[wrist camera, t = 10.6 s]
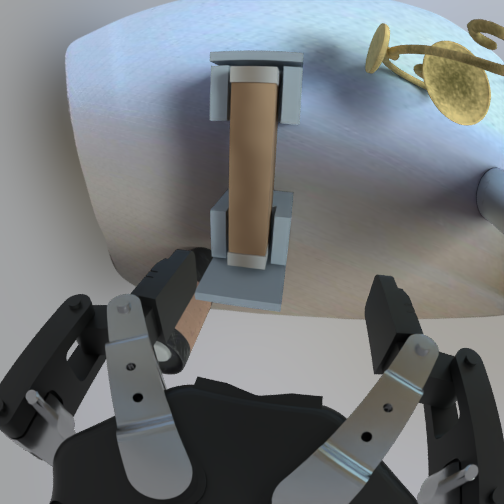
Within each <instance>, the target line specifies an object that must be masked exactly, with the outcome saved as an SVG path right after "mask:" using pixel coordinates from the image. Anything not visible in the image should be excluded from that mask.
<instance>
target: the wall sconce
mask: <svg viewBox="0 0 504 504" xmlns="http://www.w3.org/2000/svg"><path fill="white" fill-rule="evenodd" d="M467 28H468V31H469V35H470V36H471V37H472V38H473V39H474V41H475V42H477V43H478V44H480V45H481V46H483V47H485V48H487V49H491V50H495V49H497V44H496V43H495V42H494V41H492V40H491V39H489V38H487V37H485V36H484V35H482V34H481V33H480V32H483V33H488V34H491V35H494V36H496V37H498V38H500V39H502V40H504V27H502V26H500V25H498V24H496V23H493V22H490V21H486V20H482V19H476V20H472V21H470V22H469V23H468V24H467ZM389 39H390V30H389V27H388V26H387V25H386V24H384V23H382V24H381V25H380V26H379V27H378V28H377V30H376V32H375V34H374V36H373V39H372V41H371V44H370V47H369V50H368V54H367V58H366V65H365V70H366V72H367V73H374V72H375V71H376V70H377V69H378V68H379V66H380V65H381V63H382V62H383V63H384V65H385V66H386V67H388V68H389V69H390V70H391V71H393V72H394V73H396V74H397V75H399V76H401V77H402V78H404V79H406V80H408V81H410V82H411V83H413V84H415V85H417V86H419V87H421V88H423V89H425V90H427V92H428V94H429V96H430V98H431V100H432V101H433V103H434V104H435V106H436V107H437V108H438V109H439V111H440V112H441V113H442V114H444V115H445V116H446V117H447V118H448V119H450V120H451V121H453V122H455V123H458V124H461V125H473V124H476V123H478V122H480V121H481V120H482V119H483V118H484V117H485V115H486V114H487V112H488V109H489V106H490V100H491V91H490V85H489V81H488V78H487V75H486V73H485V71H484V70H486V71H489V72H492V73H495V74H498V75H501V76H504V65H501V64H498V63H494V62H491V61H488V60H485V59H482V58H479V57H475V56H474V55H473V54H472V53H471V52H470V51H469V50H468V49H466V48H465V47H463V46H462V45H460V44H458V43H455V42H451V41H440V42H437V43H435V44H433V45H432V46H427V45H400V46H395V47H391V48H390V47H388V44H389ZM399 54H425V56H424V59H423V64H417V65H415V66H414V72H415V73H416V74H417V75H418V76H419V77H421V78H423V79H424V82H423V81H421V80H419V79H417V78H415V77H413V76H411V75H409V74H407V73H406V72H404V71H402V70H401V69H399V68H398V67H396V66H395V65H394V64H392V63H391V62H390V61H389V58H390V59H392V60H397V59H398V58H399Z"/></svg>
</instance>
